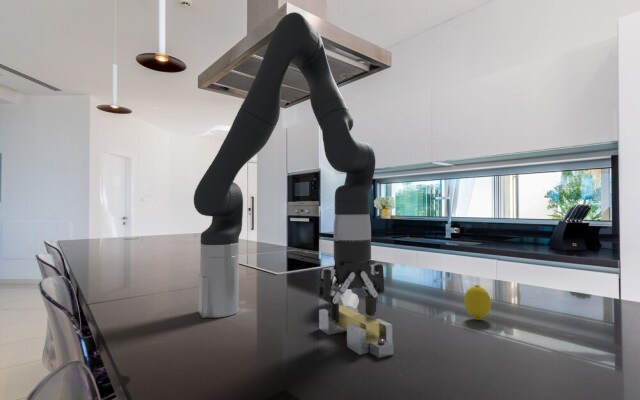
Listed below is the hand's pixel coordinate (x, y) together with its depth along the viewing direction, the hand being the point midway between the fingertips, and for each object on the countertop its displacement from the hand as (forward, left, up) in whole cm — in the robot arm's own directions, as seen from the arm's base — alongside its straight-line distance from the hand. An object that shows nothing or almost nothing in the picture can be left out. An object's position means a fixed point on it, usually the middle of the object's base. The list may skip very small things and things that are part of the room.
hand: (352, 318), depth 67 cm
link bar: (0, 0, -2) cm, 2 cm away
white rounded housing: (+9, +18, -4) cm, 21 cm away
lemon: (+31, -5, -4) cm, 32 cm away
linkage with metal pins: (0, 0, -4) cm, 4 cm away
